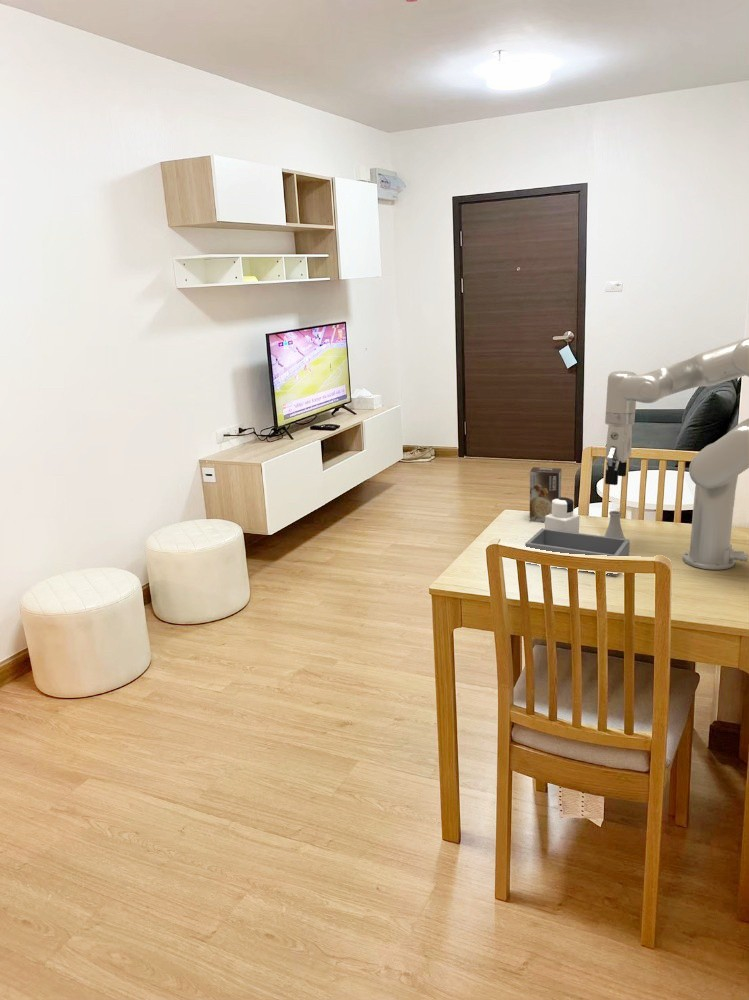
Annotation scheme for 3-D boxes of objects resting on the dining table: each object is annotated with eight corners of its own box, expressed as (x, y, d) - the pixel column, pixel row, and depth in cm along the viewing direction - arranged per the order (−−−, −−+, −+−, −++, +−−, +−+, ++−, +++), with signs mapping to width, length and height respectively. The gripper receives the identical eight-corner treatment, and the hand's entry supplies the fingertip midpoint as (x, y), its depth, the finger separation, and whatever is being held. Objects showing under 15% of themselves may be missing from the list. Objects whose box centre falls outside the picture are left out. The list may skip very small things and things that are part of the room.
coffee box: (561, 517, 245) (562, 468, 241) (558, 523, 240) (560, 473, 235) (532, 515, 249) (533, 466, 244) (528, 521, 243) (529, 471, 238)
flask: (628, 551, 215) (630, 516, 212) (601, 550, 216) (602, 516, 213) (625, 542, 221) (627, 508, 219) (599, 541, 223) (600, 508, 220)
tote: (628, 559, 209) (629, 539, 207) (616, 576, 197) (617, 556, 196) (541, 546, 220) (542, 528, 219) (524, 562, 209) (525, 543, 207)
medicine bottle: (558, 533, 231) (559, 494, 228) (579, 538, 226) (580, 498, 223) (544, 539, 227) (545, 499, 223) (564, 544, 222) (566, 504, 218)
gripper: (626, 425, 200) (622, 489, 205) (641, 413, 214) (636, 474, 219) (597, 423, 203) (593, 486, 208) (613, 411, 218) (609, 471, 222)
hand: (615, 479), depth 214 cm, fingers open, 9 cm apart
